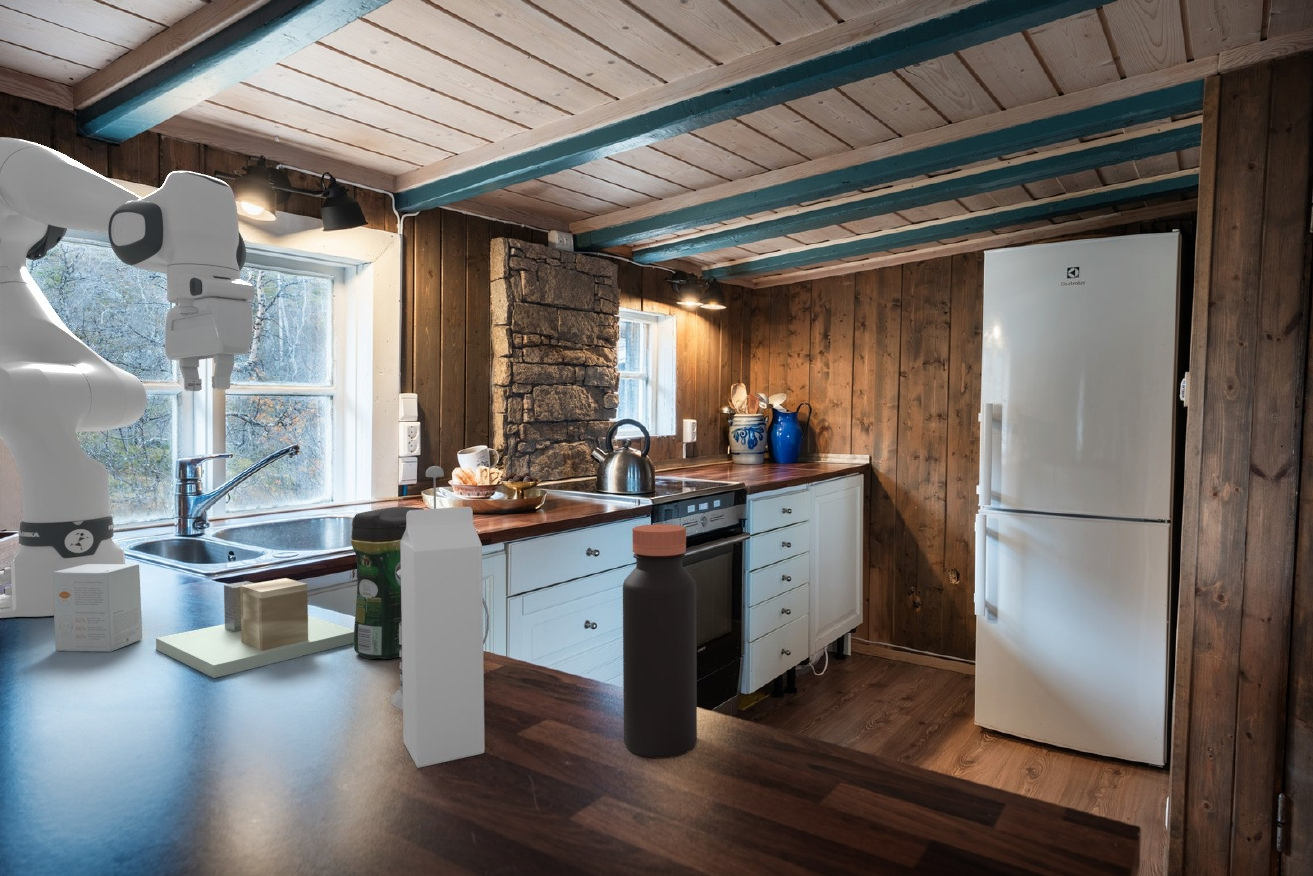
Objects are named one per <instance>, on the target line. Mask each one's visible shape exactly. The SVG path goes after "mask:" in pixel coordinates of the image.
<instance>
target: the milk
mask: <svg viewBox="0 0 1313 876" xmlns="http://www.w3.org/2000/svg"><path fill="white" fill-rule="evenodd" d="M473 511H474V510H473V508H472V507H471V506H460V507H459V506H458V507H457V506H456V507H441V508H436V509H434V508H427V509H425V508H423V510H410V511H408V512H407V514H406V530H405V532H404V534H403V537H402V539H401V542H400V547H401V612H402V657H401V659H402V669H401V670H402V676H403V710H402V727H403V728H402V729H403V733H402V734H403V735H402V736H403V745H404V746H405V748H406V750H407V751H408V753H409V755H410V756H411V759H412V761H413V762H414V764H415V766H416V767H417V769H420V768H424V767H429V766H432V765H438V764H441V763H446V762H450V761H455V760H460V759H464V758H468V757H473V756H478V755H482V754H484V753H485V688H484V687H485V685H484V684H485V683H484V682H485V681H484V680H485V677H484V645H483V640H484V605H483V598H484V597H483V595H484V594H483V591H484V590H483V545H482V544H483V543H482V542H481V539H480V537H479V534H478V532H477V529H476V526H475V525H474V517H473V516H474V514H473Z"/></svg>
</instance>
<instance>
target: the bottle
mask: <svg viewBox="0 0 1313 876" xmlns="http://www.w3.org/2000/svg"><path fill="white" fill-rule="evenodd" d="M686 551H687V528H685V526H683V525H682V526H681V525H677V524H675V525H674V524H661V523H656V524H655V523H654V524H644V525H643V524H642V525H637V526H635V527H633V528H632V552H633V553H634V554H633V558H634V559H635V562H636V565H635V566H636V567H635V568H633V570H632V571H631V572H630V573H629V574H628V575H627V576H626V578H625V579H624V581H623V584H622V643H623V644H622V654H623V655H622V663H623V664H622V666H623V669H622V671H623V673H622V674H623V675H622V677H623V681H622V683H623V684H622V685H623V687H622V688H623V694H622V695H623V696H622V697H623V742H624V744H625V745H624V746H626V749H628V750H629V751H631V752H632V753H634V754H635V755H639V756H641V757H647V758H654V759H657V758H658V759H663V758H665V759H667V758H668V759H669V758H674V757H675V758H676V757H678V756H682V755H684V754H686V753H688V752H690V751H692V749H694V747H695V746H696V744H697V743H698V742H697V741H698V733H697V732H698V718H697V717H698V714H697V710H698V709H697V706H698V705H697V704H698V703H697V702H698V699H697V698H698V697H697V696H698V695H697V691H698V690H697V688H698V686H697V685H698V683H697V681H698V679H697V678H698V677H697V666H698V665H697V663H698V662H697V661H698V660H697V659H698V658H697V657H698V656H697V584H696V580H695V578H693V577H692V575H691V574H690V573H689V572H688V571H687V570H686V569H685V568H684V567H683V559H684V558H686Z"/></svg>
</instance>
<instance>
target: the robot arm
mask: <svg viewBox="0 0 1313 876" xmlns="http://www.w3.org/2000/svg"><path fill="white" fill-rule="evenodd" d="M239 227H240V226H239V215H238V207H237V201H236V198H235V194H234V192H233V189H232V188H231V186H230V185H229V184H227V183H226V182H225V181H223V180H221V179H218V178H217V177H212V176H210V175H206V174H203V173H202V174H201V173H198V172H193V171H189V170H188V171H187V170H177V171H172V172H170V173H169V174H168V175H167V176H166V178H165V181H164V183H163V184H162V186H161V187H160V188H158V189H157V190H155V191H153V192H152V193H150V194H148V195H146V196H144V197H141V196H139V195H137V194H135V192H132V191H130V190H128V189H126V188H124V187H123V186H122V185H119V184H117V183H115V182H113V181H111V180H110V179H108V178H106V177H105V176H103V175H102V174H99V173H97V172H96V171H94V170H93V169H90V168H89V167H87V166H85V165H83V164H82V163H80V162H78V161H77V160H74V159H73V158H70V157H69V156H67V155H66V154H63V153H61V152H59V151H56V150H54V149H53V148H49V147H47V146H44V145H41V144H38V143H37V142H32V141H28V140H24V139H21V138H20V139H19V138H13V137H4V136H3V137H2V136H1V137H0V440H1V442H2V443H3V444H4V446H5V447H6V448H7V449H8V451H9V453H10V454H11V456H12V458H13V461H14V463H15V465H16V468H17V471H18V476H19V482H20V491H21V503H22V521H20V522H19V529H18V533H17V534H18V544H20V547H19V549H18V551H17V553H16V555H15V556H14V557H13V559H12V560H11V561H10V566H9V567H3V568H4V569H3V570H0V586H5V587H4V588H3V594H0V619H4V618H16V617H19V618H21V617H25V618H26V617H28V618H29V617H34V618H35V617H50V616H51V617H53V616H54V601H53V576H52V573H53V572H55V571H59V570H63V569H68V568H72V567H76V566H81V565H85V564H126V559H125V558H126V557H125V549H124V548H123V547H121V546H120V545H117V544H116V543H115V542H114V541H113V537H114V528H115V526H114V525H115V523H114V520H113V519H114V518H113V516H112V515H111V514H110V489H109V488H110V484H109V482H110V481H109V473H108V470H107V468H106V467H105V465H104V464H103V463H101V462H100V461H99V460H98V459H95V458H93V457H90V456H89V455H88V454H86V452H85V451H84V449H83V447H82V446H81V444H80V442H79V439H78V436H77V433H83V432H84V433H86V432H87V433H88V432H89V433H92V432H108V431H111V430H117V429H121V428H124V427H128V426H132V425H134V424H135V423H137V422H138V421H140V419H141V418H142V416H143V414H144V413H145V411H146V407H147V402H148V398H147V397H148V396H147V392H146V388H145V387H144V385H143V382H142V381H141V380H140V379H139V378H138V377H137V376H136V375H135V374H133V373H131V372H128V371H127V370H124V369H122V368H120V367H118V366H116V365H114V364H113V363H111V362H110V361H108V360H106V359H105V358H104V357H102V356H101V355H100V354H98V353H97V352H96V351H94V350H93V349H92V348H91V347H89V345H87V344H86V343H84V342H83V341H82V339H80V338H78V337H77V336H76V335H75V334H74V333H73V332H72V331H71V330H70V329H69V327H67V326H66V324H65V323H64V322H63V321H62V319H61V318H60V317H59V315H58V313H57V312H56V311H55V309H54V308H53V307H52V305H51V304H50V302H49V301H48V299H47V298H46V296H45V295H44V293H43V292H42V290H41V289H40V287H39V285H38V284H37V283H36V281H35V280H34V278H33V277H32V276H31V274H30V272H29V271H28V268H27V265H26V260H27V259H28V260H31V261H36V260H37V261H38V260H41V259H43V258H45V257H46V256H47V252H48V251H50V250H52V249H54V248H55V247H56V246H58V244H59V243H60V241H61V240H62V239H63V238H64V236H65V235H66V233H67V230H75V231H80V232H81V231H84V232H89V233H96V234H104V235H108V239H109V240H108V241H109V243H110V246H111V248H112V250H113V252H114V254H115V255H116V257H117V258H118V260H119V261H121V262H122V263H123V264H125V265H128V266H131V267H133V268H136V269H139V270H145V271H150V272H155V273H160V274H165V275H166V292H167V293H166V297H167V299H166V300H167V302H169V303H172V304H174V305H173V307H171V308H169V309H168V311H167V313H166V317H165V318H166V319H165V328H164V329H165V331H164V352H165V355H166V358H167V359H168V360H170V361H179V365H178V366H179V370H180V372H181V375H182V378H183V387H184V388H183V389H184V390H185V391H186V392H199V391H201V390H202V388H203V387H202V381H203V380H202V378H200V374H199V369H198V368H200V360H207V359H213V363H214V364H215V366H214V373H213V375H212V376H211V383H212V384H211V388H212V389H214V390H221V391H222V390H229V389H230V388H231V376H232V374H233V370H234V366H235V356H241V355H247V354H248V353H249V351H250V349H251V346H252V337H253V309H252V304H251V303H250V302H253V301H254V300H255V287H254V285H253V284H251V283H248V282H246V281H245V280H243V279H241V274H240V272H241V271H242V270H243V267H244V266H245V263H246V261H247V248H246V244H245V241H244V239H243V237H242V233H241V232H240V230H239ZM6 585H9V586H6Z"/></svg>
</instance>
